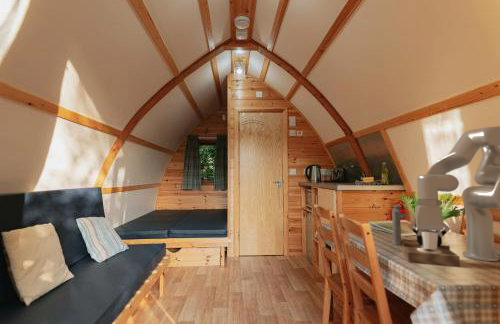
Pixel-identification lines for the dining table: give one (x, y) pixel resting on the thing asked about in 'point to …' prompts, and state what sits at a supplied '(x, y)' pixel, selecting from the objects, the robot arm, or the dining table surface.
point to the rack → (430, 255)
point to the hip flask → (396, 225)
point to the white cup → (429, 239)
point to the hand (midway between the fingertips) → (429, 244)
